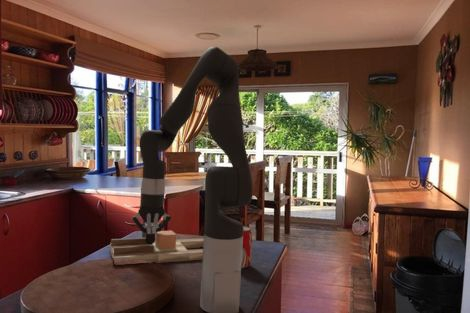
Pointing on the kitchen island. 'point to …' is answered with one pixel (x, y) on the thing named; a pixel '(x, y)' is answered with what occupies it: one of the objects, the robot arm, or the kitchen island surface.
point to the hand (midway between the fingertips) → (150, 244)
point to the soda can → (246, 247)
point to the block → (165, 239)
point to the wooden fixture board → (156, 250)
